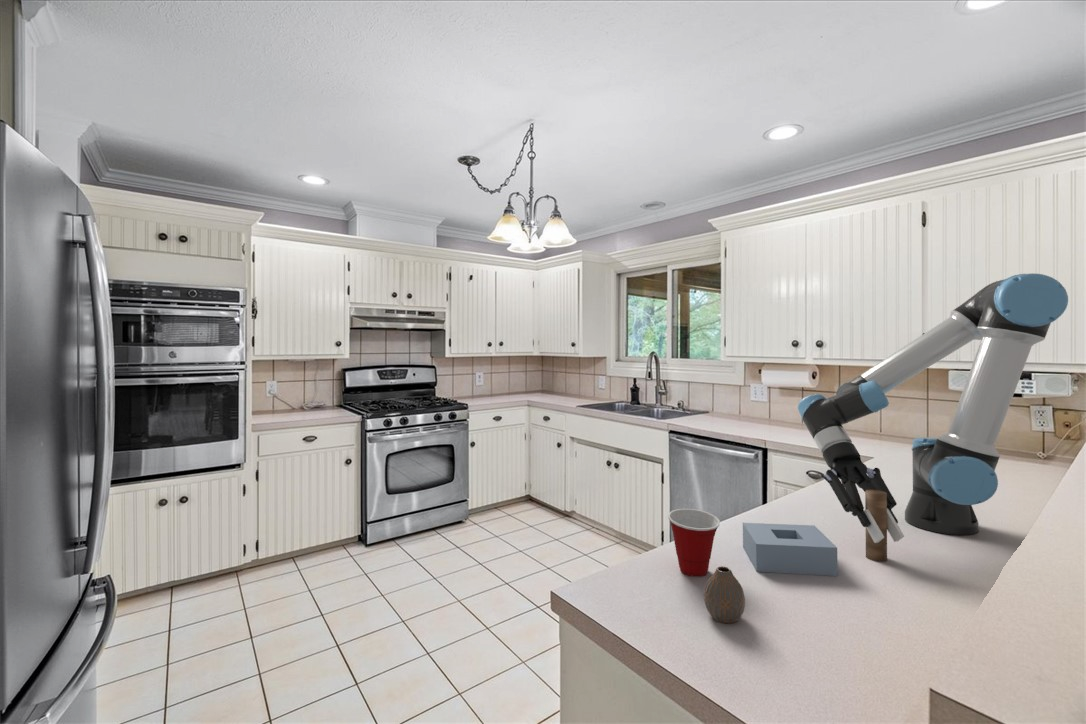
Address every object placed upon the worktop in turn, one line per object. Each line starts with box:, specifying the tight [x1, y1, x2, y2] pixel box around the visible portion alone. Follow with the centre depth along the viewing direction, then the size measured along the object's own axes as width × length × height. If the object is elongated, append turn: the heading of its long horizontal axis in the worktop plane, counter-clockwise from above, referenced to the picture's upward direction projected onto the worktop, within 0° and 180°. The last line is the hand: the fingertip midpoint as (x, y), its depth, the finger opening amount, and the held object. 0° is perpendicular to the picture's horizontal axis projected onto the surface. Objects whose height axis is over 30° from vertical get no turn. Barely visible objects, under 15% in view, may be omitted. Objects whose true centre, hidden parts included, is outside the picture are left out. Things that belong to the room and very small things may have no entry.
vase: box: [703, 565, 746, 624], centre depth 88 cm, size 7×7×9 cm
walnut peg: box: [864, 490, 888, 563], centre depth 110 cm, size 4×4×15 cm
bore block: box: [742, 522, 839, 577], centre depth 110 cm, size 16×13×6 cm
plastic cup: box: [667, 508, 721, 578], centre depth 106 cm, size 11×11×12 cm
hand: (889, 539), depth 107 cm, fingers closed on walnut peg, 4 cm apart
